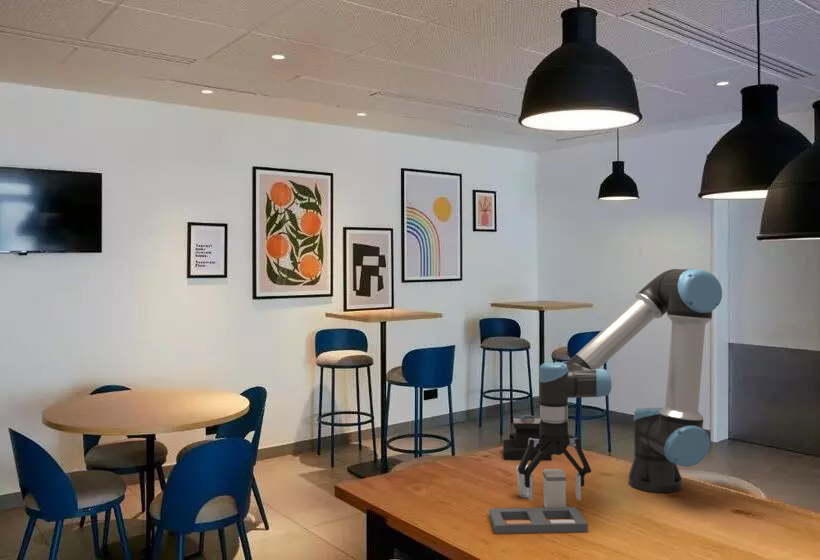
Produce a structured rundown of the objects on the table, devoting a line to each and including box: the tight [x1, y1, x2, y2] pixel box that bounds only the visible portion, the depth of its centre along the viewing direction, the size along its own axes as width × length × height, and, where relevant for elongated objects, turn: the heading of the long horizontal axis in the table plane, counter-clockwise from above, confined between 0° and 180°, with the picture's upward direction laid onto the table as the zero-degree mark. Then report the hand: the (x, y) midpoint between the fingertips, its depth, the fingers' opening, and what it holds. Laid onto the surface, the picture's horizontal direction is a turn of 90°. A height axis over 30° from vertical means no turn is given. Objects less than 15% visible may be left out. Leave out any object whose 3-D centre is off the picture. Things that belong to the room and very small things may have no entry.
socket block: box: [488, 506, 589, 535], centre depth 176 cm, size 23×12×2 cm, turn 90°
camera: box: [502, 414, 552, 462], centre depth 240 cm, size 16×14×15 cm
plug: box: [542, 468, 567, 508], centre depth 187 cm, size 5×5×10 cm
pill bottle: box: [516, 464, 533, 499], centre depth 197 cm, size 4×5×10 cm
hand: (554, 498), depth 187 cm, fingers open, 12 cm apart
